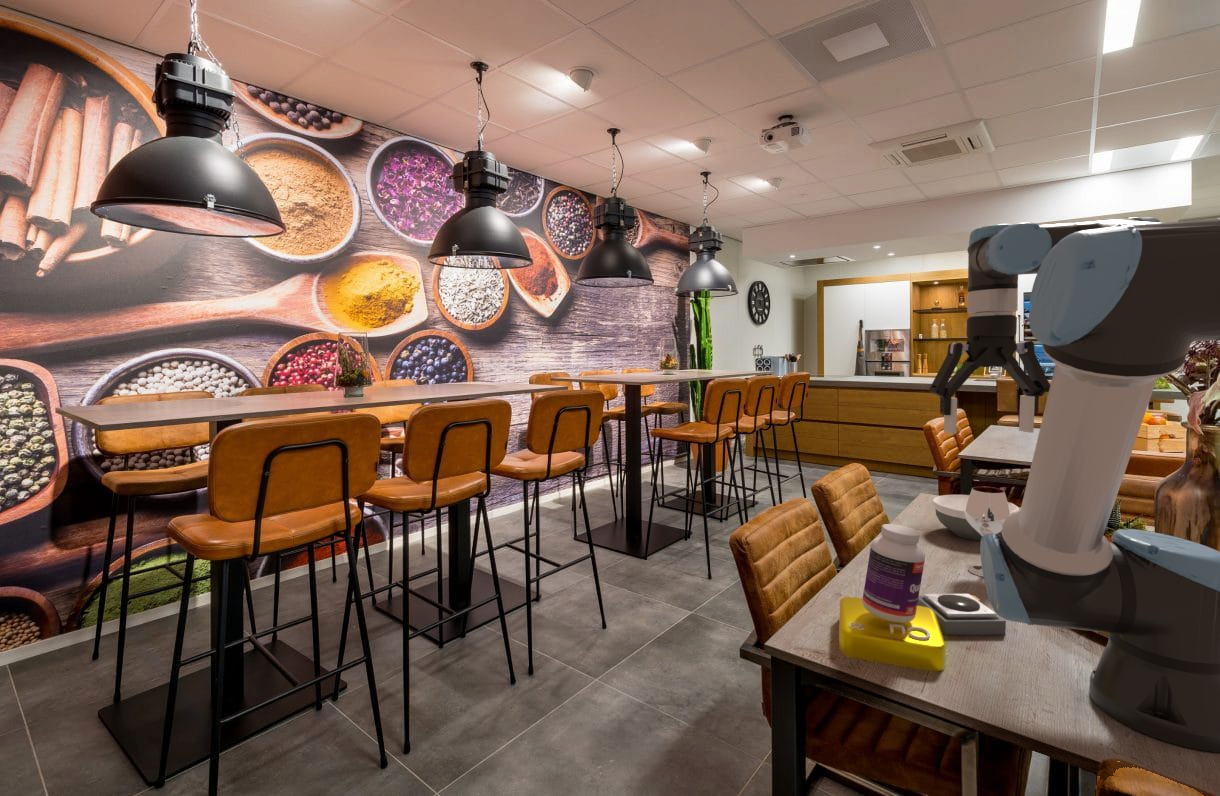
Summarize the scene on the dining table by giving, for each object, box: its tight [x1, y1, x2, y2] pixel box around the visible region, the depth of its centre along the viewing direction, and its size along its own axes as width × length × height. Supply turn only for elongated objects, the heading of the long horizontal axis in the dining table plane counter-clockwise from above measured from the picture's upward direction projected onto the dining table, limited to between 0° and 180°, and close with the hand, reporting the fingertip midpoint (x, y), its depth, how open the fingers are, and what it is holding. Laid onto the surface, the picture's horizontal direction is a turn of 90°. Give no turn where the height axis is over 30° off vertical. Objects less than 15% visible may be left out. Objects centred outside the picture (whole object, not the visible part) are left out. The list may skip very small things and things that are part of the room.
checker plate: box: [923, 593, 996, 620], centre depth 101 cm, size 8×8×2 cm
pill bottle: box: [862, 523, 926, 623], centre depth 94 cm, size 8×8×14 cm
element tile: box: [838, 596, 946, 672], centre depth 95 cm, size 15×15×5 cm
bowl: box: [932, 494, 1020, 541], centre depth 147 cm, size 19×19×8 cm
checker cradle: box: [917, 594, 1007, 636], centre depth 101 cm, size 10×10×3 cm
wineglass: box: [965, 486, 1011, 578], centre depth 122 cm, size 8×8×18 cm
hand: (988, 432), depth 105 cm, fingers open, 13 cm apart
